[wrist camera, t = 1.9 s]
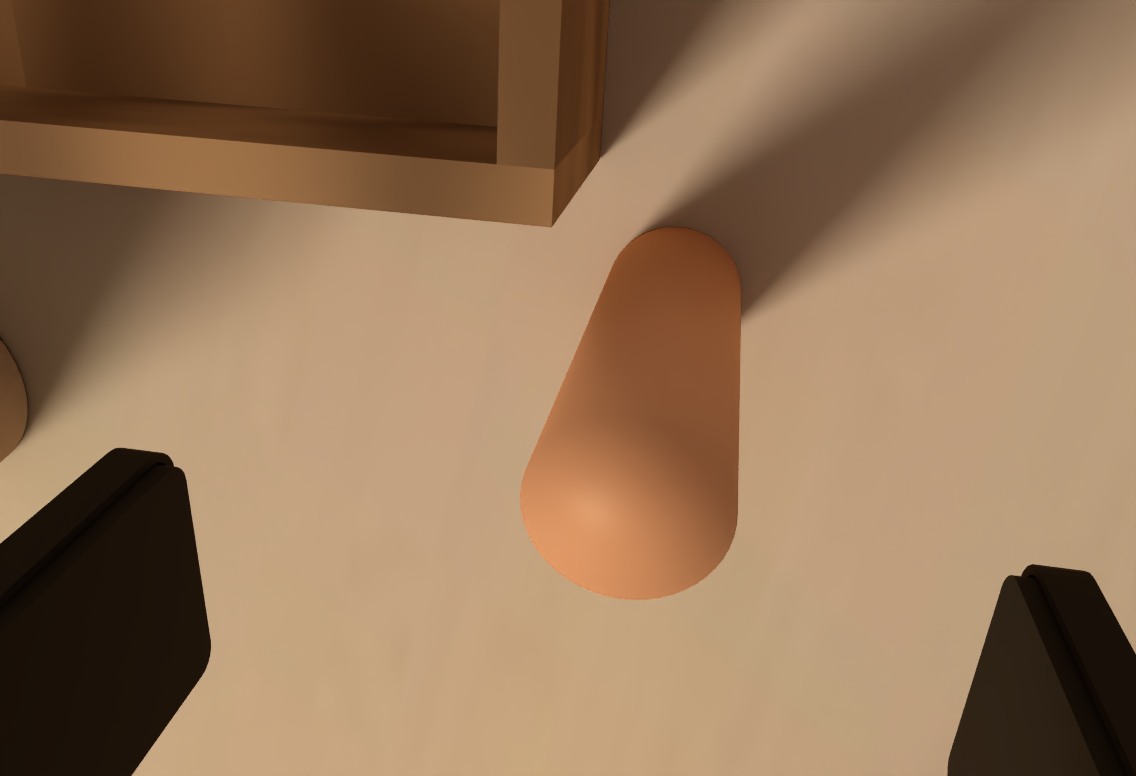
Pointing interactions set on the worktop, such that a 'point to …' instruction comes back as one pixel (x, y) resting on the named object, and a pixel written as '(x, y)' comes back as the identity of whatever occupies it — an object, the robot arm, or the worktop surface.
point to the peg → (645, 426)
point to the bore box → (312, 100)
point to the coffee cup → (11, 404)
